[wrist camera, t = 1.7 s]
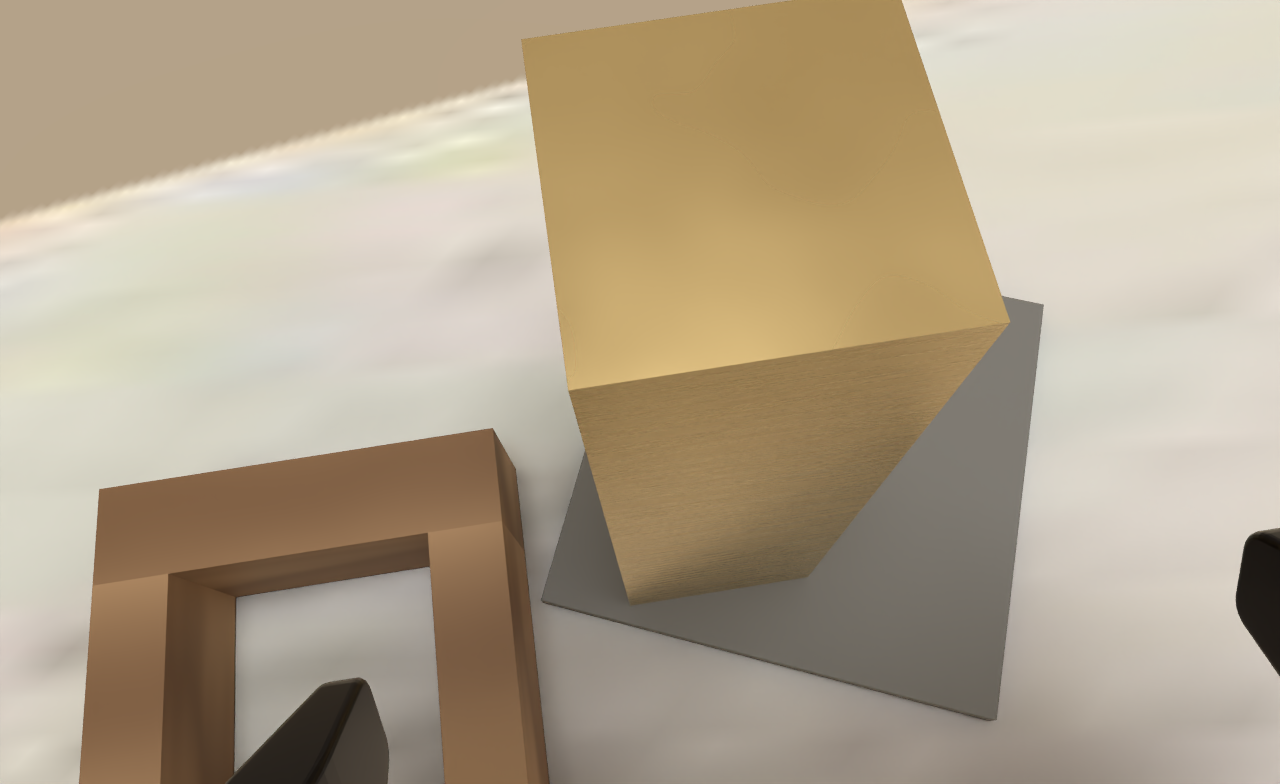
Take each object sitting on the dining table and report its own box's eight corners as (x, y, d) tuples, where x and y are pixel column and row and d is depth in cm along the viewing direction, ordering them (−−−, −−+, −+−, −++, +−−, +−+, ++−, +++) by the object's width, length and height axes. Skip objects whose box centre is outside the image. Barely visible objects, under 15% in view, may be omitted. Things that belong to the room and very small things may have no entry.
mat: (989, 720, 19) (996, 720, 19) (543, 602, 21) (541, 599, 20) (1037, 311, 23) (1043, 304, 22) (652, 231, 24) (652, 223, 24)
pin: (807, 576, 20) (1010, 321, 8) (630, 605, 20) (568, 389, 8) (771, 410, 22) (896, -15, 10) (605, 437, 22) (521, 39, 9)
